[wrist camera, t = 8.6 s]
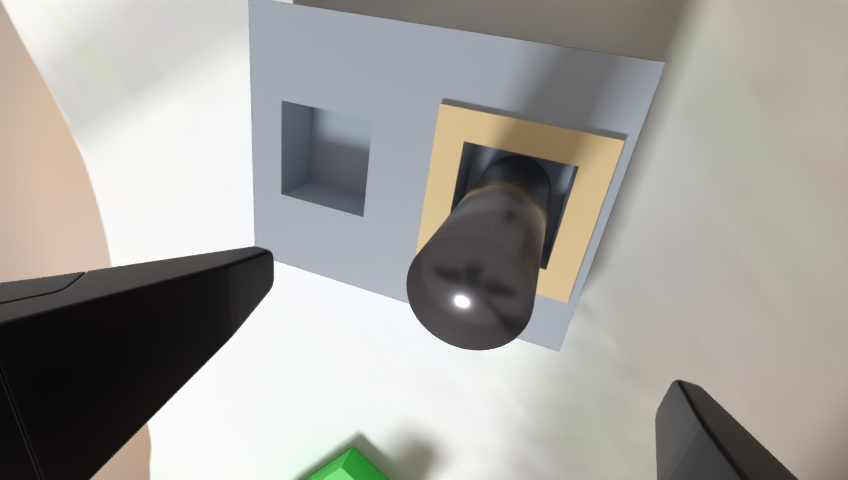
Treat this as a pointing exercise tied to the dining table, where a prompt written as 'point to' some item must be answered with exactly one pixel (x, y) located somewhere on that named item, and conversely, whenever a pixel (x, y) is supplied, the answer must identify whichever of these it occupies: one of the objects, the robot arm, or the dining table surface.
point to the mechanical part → (348, 468)
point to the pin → (485, 259)
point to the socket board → (429, 142)
